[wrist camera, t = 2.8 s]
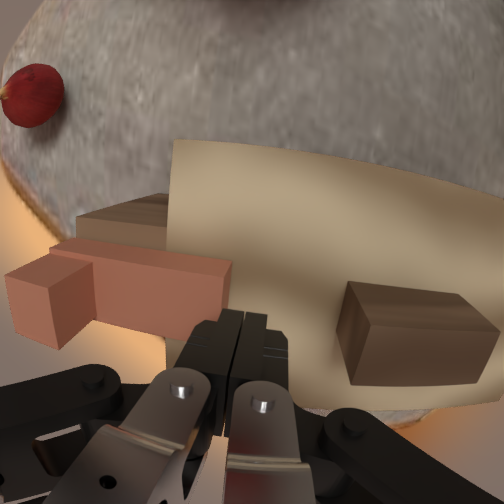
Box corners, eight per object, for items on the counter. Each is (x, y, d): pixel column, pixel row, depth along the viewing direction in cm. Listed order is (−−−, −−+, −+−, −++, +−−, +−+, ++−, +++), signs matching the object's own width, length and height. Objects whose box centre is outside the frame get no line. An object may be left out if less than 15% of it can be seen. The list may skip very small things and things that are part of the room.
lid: (189, 142, 14) (130, 130, 8) (543, 216, 13) (608, 239, 7) (178, 364, 18) (142, 436, 12) (486, 383, 16) (522, 436, 10)
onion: (39, 81, 22) (-16, 69, 14) (82, 64, 21) (26, 44, 14) (37, 134, 24) (-22, 134, 16) (79, 122, 23) (18, 115, 15)
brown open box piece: (161, 150, 23) (78, 145, 12) (476, 201, 22) (564, 228, 11) (155, 290, 27) (89, 360, 16) (443, 326, 25) (500, 397, 14)
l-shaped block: (73, 237, 14) (3, 268, 9) (232, 260, 13) (204, 315, 8) (77, 293, 14) (17, 337, 10) (226, 323, 14) (200, 396, 9)
